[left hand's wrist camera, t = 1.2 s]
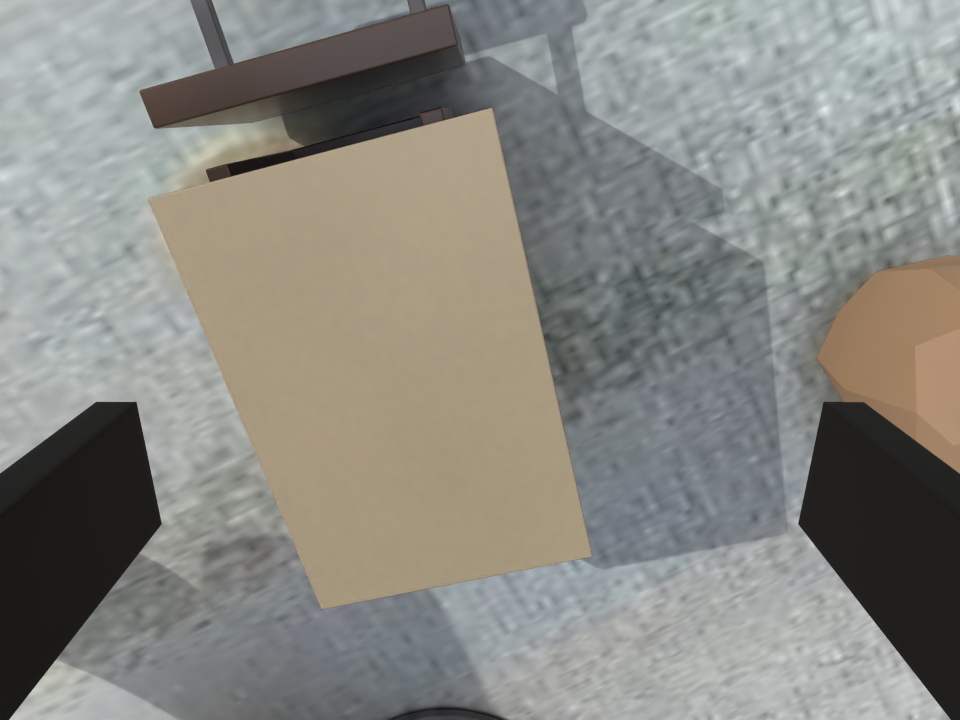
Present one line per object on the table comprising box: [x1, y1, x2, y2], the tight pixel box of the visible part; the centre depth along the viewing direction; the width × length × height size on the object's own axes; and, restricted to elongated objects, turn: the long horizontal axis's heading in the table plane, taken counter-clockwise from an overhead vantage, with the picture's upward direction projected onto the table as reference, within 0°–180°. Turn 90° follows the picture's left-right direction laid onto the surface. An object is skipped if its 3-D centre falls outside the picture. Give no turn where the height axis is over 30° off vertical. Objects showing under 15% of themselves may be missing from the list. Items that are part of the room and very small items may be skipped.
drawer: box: [140, 0, 466, 182], centre depth 26 cm, size 22×10×9 cm, turn 14°
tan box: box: [148, 108, 592, 609], centre depth 29 cm, size 17×12×12 cm, turn 14°
